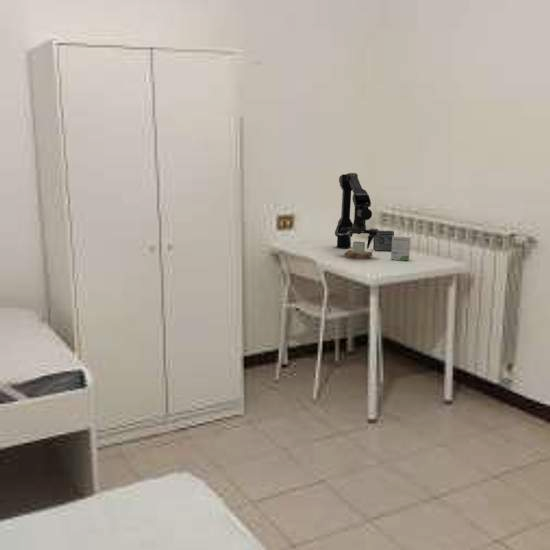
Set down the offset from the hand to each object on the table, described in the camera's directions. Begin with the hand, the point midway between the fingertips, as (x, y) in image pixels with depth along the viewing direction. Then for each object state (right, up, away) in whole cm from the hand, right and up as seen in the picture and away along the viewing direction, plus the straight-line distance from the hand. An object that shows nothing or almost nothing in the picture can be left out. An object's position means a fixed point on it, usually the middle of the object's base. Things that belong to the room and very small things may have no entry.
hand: (358, 248), depth 358 cm
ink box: (+20, -6, -5) cm, 22 cm away
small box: (+16, -1, +20) cm, 26 cm away
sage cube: (0, -2, 0) cm, 2 cm away
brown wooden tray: (0, -4, +1) cm, 4 cm away
